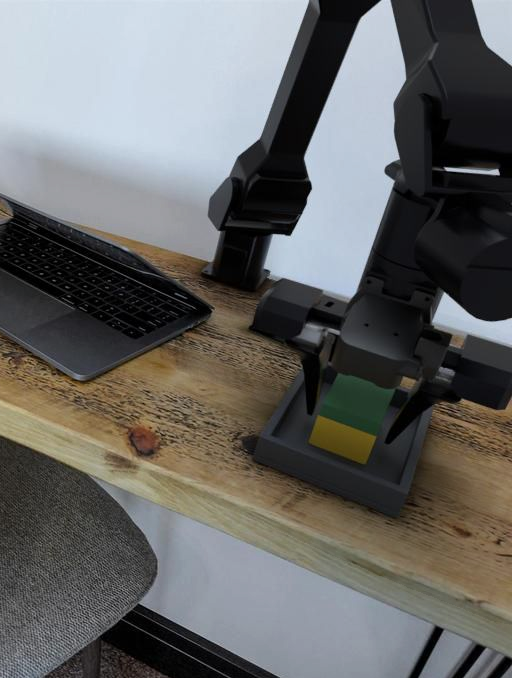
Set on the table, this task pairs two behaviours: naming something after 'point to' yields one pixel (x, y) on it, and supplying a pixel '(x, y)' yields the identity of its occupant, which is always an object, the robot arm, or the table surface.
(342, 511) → the table surface
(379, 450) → the tray
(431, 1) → the robot arm
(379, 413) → the sponge
